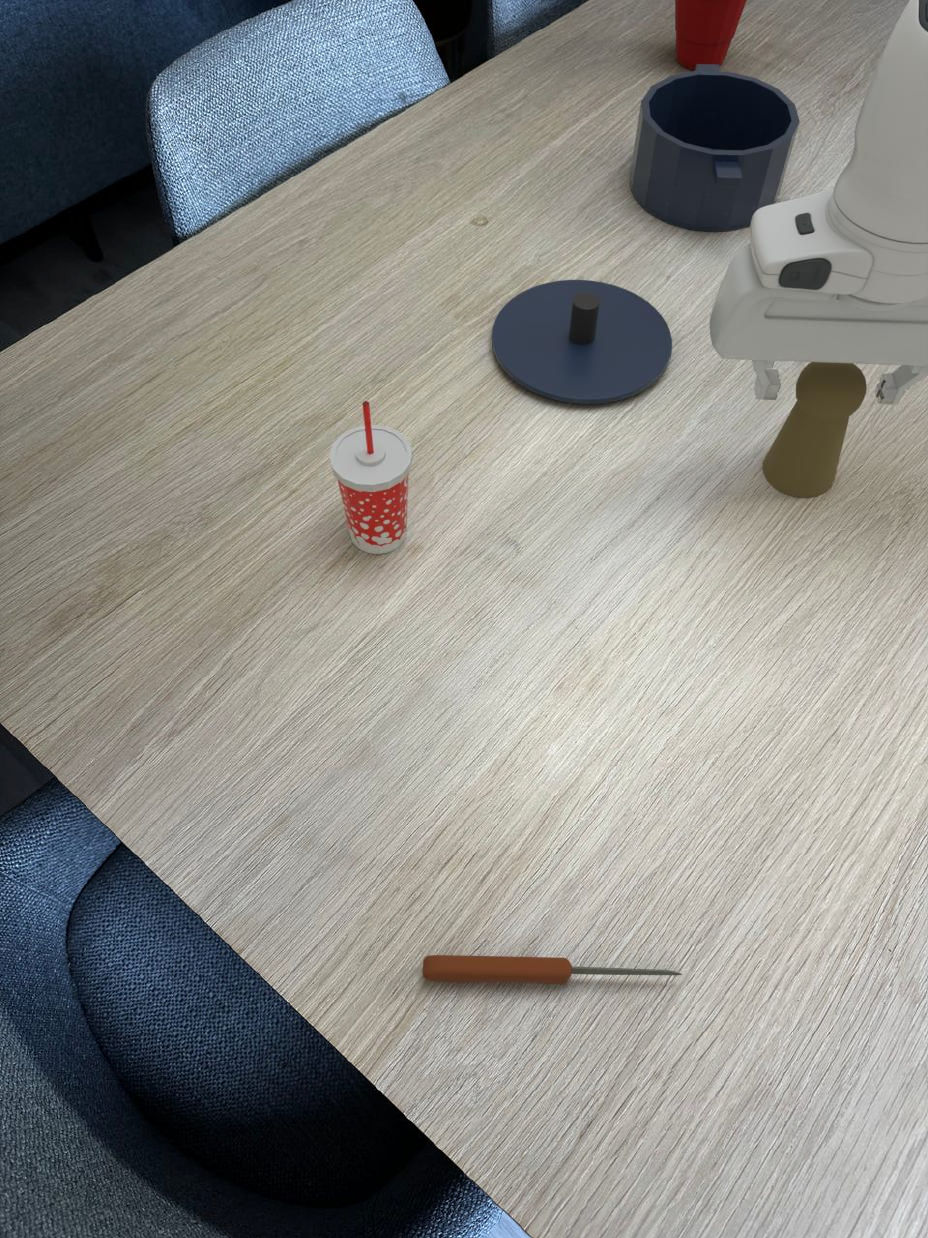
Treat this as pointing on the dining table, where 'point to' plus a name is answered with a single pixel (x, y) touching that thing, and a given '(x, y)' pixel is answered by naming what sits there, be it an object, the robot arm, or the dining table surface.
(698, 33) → the plastic cup
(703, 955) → the dining table surface
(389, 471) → the beverage cup
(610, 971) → the orange-handled awl
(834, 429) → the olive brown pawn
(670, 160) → the pot
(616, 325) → the lid
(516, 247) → the dining table surface
